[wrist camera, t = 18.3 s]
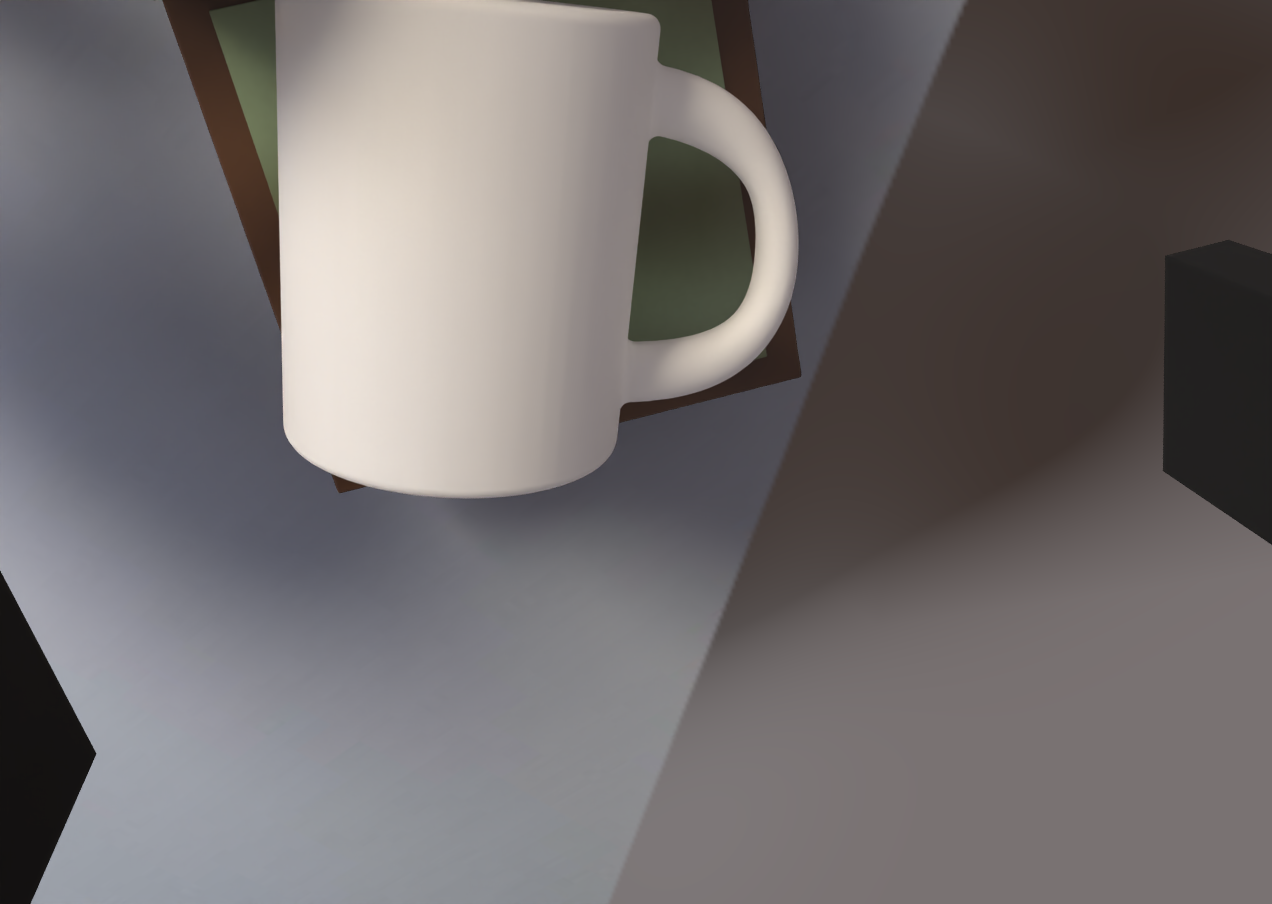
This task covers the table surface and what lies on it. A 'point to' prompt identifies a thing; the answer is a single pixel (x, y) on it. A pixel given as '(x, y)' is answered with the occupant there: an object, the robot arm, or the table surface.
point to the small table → (673, 187)
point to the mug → (490, 237)
